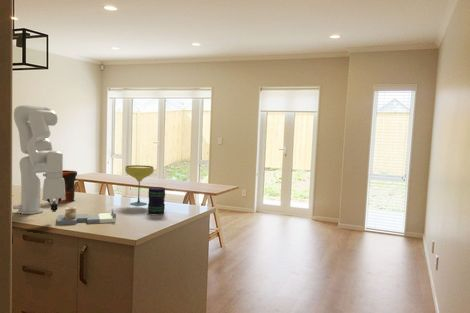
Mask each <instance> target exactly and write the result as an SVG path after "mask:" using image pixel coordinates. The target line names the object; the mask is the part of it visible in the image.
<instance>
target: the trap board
mask: <svg viewBox="0 0 470 313" xmlns="http://www.w3.org/2000/svg"><path fill="white" fill-rule="evenodd" d="M78 223H87V224H104V223H117V213H116V211H115V209H114V208H111V212H105V213H104V212H103V213H101V212H100V213H98V214H93V215H90V214H89V213H80V214H79V213H76V218H69V219H65V214H58V215H57V221H56V225H57V226H63V225H64V226H65V225H77V224H78Z"/></svg>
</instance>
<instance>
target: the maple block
mask: <svg viewBox="0 0 470 313" xmlns="http://www.w3.org/2000/svg"><path fill="white" fill-rule="evenodd" d="M64 211H65V213H64V215H65V219H69V218H76V214H77V207H76V206H66V207H65V210H64Z"/></svg>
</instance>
